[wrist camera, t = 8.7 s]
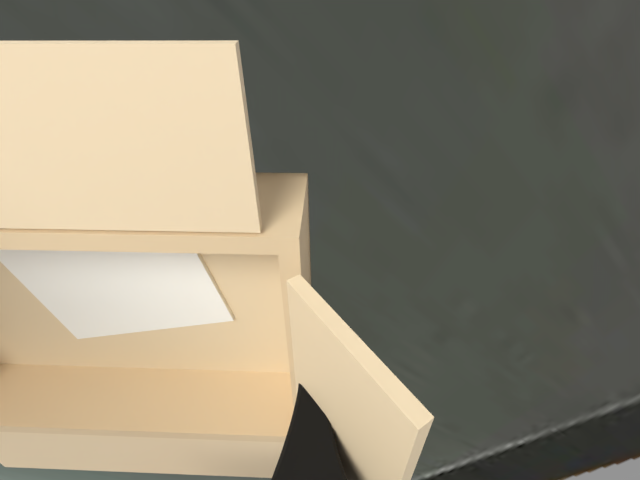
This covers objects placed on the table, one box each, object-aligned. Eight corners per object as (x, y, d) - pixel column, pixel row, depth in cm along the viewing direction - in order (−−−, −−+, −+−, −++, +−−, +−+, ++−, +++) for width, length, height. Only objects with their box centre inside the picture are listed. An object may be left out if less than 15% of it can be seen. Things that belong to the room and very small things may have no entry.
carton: (-352, 18, 10) (-606, 44, 7) (302, 16, 10) (288, 44, 7) (28, 405, 23) (-14, 467, 20) (315, 415, 23) (312, 480, 20)
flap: (418, 430, 6) (434, 417, 7) (286, 280, 9) (299, 274, 10) (370, 570, 13) (379, 561, 13) (302, 457, 16) (309, 451, 16)
